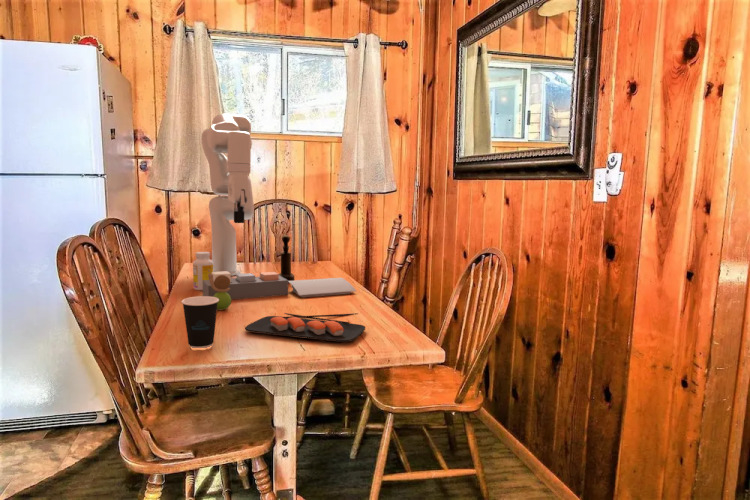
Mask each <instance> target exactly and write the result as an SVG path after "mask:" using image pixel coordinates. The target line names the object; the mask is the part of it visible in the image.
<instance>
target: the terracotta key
mask: <svg viewBox="0 0 750 500" xmlns="http://www.w3.org/2000/svg"><path fill="white" fill-rule="evenodd" d="M279 274H280V273H277V272H276V271H267V272H266V271H264V272H259V277H260V279H261V280H263V281H268V280H279Z"/></svg>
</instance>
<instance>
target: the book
mask: <svg viewBox="0 0 750 500" xmlns="http://www.w3.org/2000/svg"><path fill="white" fill-rule="evenodd" d="M288 282H289V283H288V284H290V285H291V288H292V292H293V293H295V294H296V295H297V296H299V297H300V298H311V297H322V296H323V297H326V296H337V295H351V293H352V292H357V289H356V288H355V287H354V286H353V285H352V284H351V283H350V282H349V281H347V280H346V279H345V278H343V277H329V278H316V279H315V278H313V279H311V278H310V279H294V281H288Z"/></svg>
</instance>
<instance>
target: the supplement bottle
mask: <svg viewBox="0 0 750 500" xmlns="http://www.w3.org/2000/svg"><path fill="white" fill-rule="evenodd" d="M210 256H211V252H209V251H197V252H195V257H196V259H194V260H193V262H192V274H193V275H192V276H193V277H192V280H193V290H195V291H203V280H209V278H208V274H212V272H213V261H212V259H210ZM208 270H210V272H208Z"/></svg>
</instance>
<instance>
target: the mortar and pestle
mask: <svg viewBox="0 0 750 500" xmlns="http://www.w3.org/2000/svg"><path fill="white" fill-rule="evenodd" d="M290 240H291V238H290V235H289V234H283V235H282V237H281V241H282V242H283V246H282V249H283V251H282V252H280V273H278V274H279V276H281V277H283V278H285V279H287V280H288V281H294V280H295V275H294V274H293V273H292V252H289V250H290V246H289V242H290ZM288 284H290V283H289V282H288Z"/></svg>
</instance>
